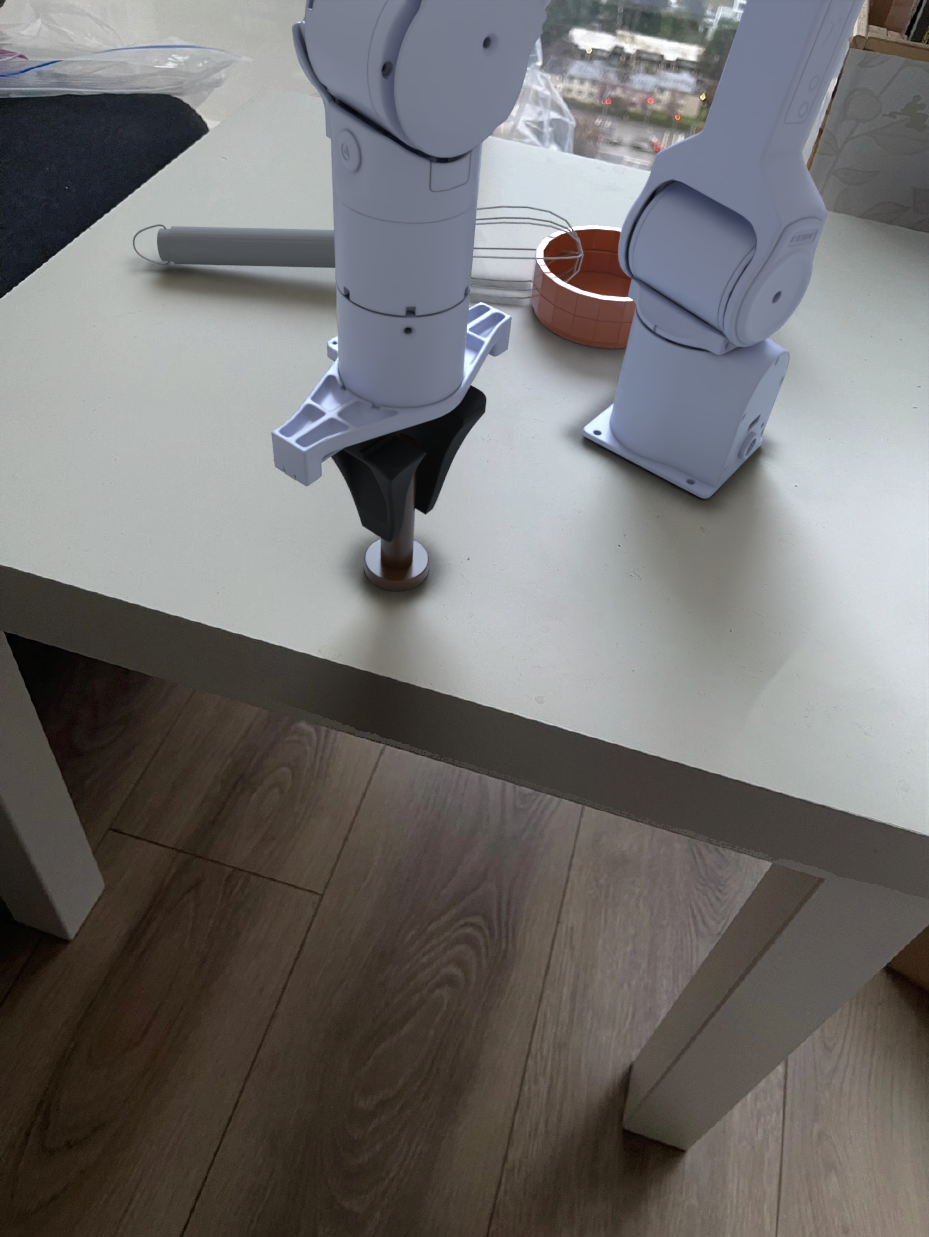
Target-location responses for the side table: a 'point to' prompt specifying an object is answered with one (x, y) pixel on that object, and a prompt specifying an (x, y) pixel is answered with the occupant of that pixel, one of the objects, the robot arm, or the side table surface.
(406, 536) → the coffee tamper
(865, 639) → the side table surface
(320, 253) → the kitchen whisk
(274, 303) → the side table surface
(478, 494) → the side table surface
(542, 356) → the side table surface
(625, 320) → the bowl
